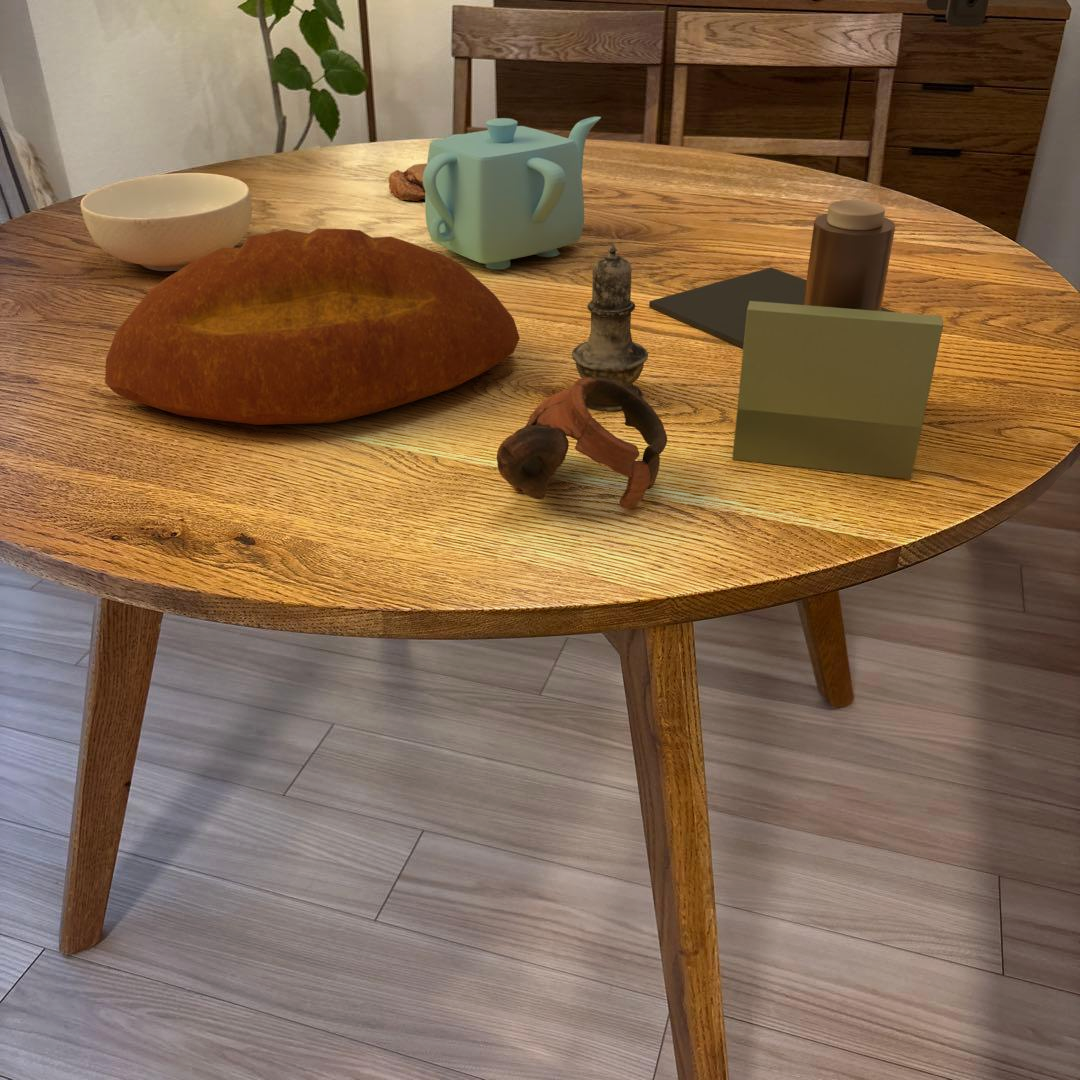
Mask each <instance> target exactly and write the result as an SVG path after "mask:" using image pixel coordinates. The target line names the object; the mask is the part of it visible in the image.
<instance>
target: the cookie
mask: <svg viewBox="0 0 1080 1080" xmlns="http://www.w3.org/2000/svg"><path fill="white" fill-rule="evenodd" d="M426 166H427V163H417V164H413V165H411V166H410V167H409V168H407V169H406V170H404V171H402V170H399V169H397V170H394V171H392V172H391V173H390V174H389V176H388V189H389V191H390V194H392V195H393V196H394V197H395V198H399V200H402V201H404V200H405V201H412V202H419V201H421V200H425V189H424V185H423V173H424V170H425V168H426Z"/></svg>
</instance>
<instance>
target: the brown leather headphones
mask: <svg viewBox="0 0 1080 1080" xmlns="http://www.w3.org/2000/svg"><path fill="white" fill-rule="evenodd" d="M583 394H586V397H585V398H584V400H583ZM585 403H592V404H605V405H620V406H621V407H622V410H621V411H622V412H623V415H624V425H625V427H631V428H634V429H635V430H637V431H638V432H639V434H640V436H642V438H643V440H644V441H645V443H646V444H647V445H648V446H647V447H645V449H644V451H643V454H642V459H641V460H639V459H638V458H639V456H640V451H639V448H638V446H637V445H635V444H633V443H631V442H628V441H626V440H623V439H622V438H619V437H617V436H615V435H614V434H613V433H612V432H610V431H609V430H608V429H607V428H605V427H604V426H603V425H602V424H601V423H600V422H598V421H597V420H596V419H595V417H594V418H593V415H592V414H591V412H590V411H589V410H588V407H586V405H585ZM568 437H569V438H572V439H574V440H576V441H577V442H576V444H575V447H574V450H575V451H577V452H579V453H580V454H582V455H585V456H586V457H588V458H590V459H591V460H592V461H594V462H595V463H597V464H600V465H604V466H606V467H608V468H609V469H611V470H612V471H613V472H615V473H617V474H620V475H622V476H624V477H627V478H628V479H627V483H626V488H625V491H624V492H623V494H622V497H621V498H620V499H619V506H620V508H621V509H625V510H626V509H627V510H628V509H629V510H631V509H634V508H637V506H638V505H639V503H640V501H642V500H643V499H644V498H645V494H646V492H647V491H648V490H652V488H653V487H654V485H655V482H656V480H657V477H658V474H659V471H660V465H661V464H660V463H661V457H660V455H661V453H663V452H664V450H665V449H666V446H667V443H668V436H667V432H666V429H665V426H664V424H663V420H662V419H661V418H660V417H659V415H658V413H657V412H656V411H655V410H654V409H653V407H651V405H650V403H648V401H646V400H645V399H644V398H643V397H642V398H641V397H640V396H639V395H637V394H636V393H635V392H634V391H632V390H631V389H629V388H628V387H626V386H624V385H622V384H620V383H618V382H616V381H613V380H610V379H607V378H603V377H596V376H592V377H585V378H579V379H577V380H576V381H575V382H574V384H573V385H572V387H571V388H570V389H565V390H561V391H557V392H556V393H553V394H552V395H550V396H548V397H546V398H545V399H543V401H541V403H540V404H539V405H538V406H537V407H535V409H534V411H533V412H531V414H530V415H529V418H528V420H527V423H526V425H524V426H523V427H521V428H519V429H518V430H516V431H515V432H514V433H512V434H511V435H509V436H507V437H506V438H505V439H504V440H503V441H502V442H501V444H500V445H499V447H498V448H497V452H496V463H497V469H498V472H499V474H500V476H501V477H502V478H503V480H505V482H507V483H508V484H509V485H510V486H512V488H513V490H514V491H515V492H517V493H518V492H520V491H521V490H522V493H523V494H525V496H528V497H530V498H533V499H536V500H542V499H544V498H545V496H546V493H547V488H548V486H549V484H550V482H551V480H552V477H554V475H555V474H556V472H557V470H558V469H559V468H560V467H561V465H563V463H564V462H565V460H566V457H567V453H568V451H569V447H570V443H569V442H570V441H569V439H568ZM636 459H638V460H636Z"/></svg>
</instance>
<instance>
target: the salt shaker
mask: <svg viewBox="0 0 1080 1080" xmlns="http://www.w3.org/2000/svg"><path fill="white" fill-rule="evenodd" d="M607 251H608V252H609V253H608V254H606V256H603V257H601V258H599V259H597V260H596V261H595V263H594V264H593V267H592V281H591V283H592V285H591V287H592V288H591V289H592V290H591V291H592V293H591V300H590V301H589V302H587V304H586V309H587V310H588V311H589V312H590V332H589V337H588V339H587V341H584V342H582V343H579V344H577V345H576V346H575V347H574V348H573V350H572V351H571V358H572V360H573V361H574V362H575V367H576V370H577V372H578V373H577V374H578V375H579V377H580V379H582V378H585V377H592V376H596V377H603V378H607V379H610V380H613V381H616V382H618V383H620V384H622V385H624V386H626V387H628V388H629V389H631V390H632V391H634V392H635V393H636V394H637V395H639V396H640V397H641V398H643V392H642V390H641V389H640V388H639V387H638V386H636V385H634V383H635V382H636V381H637V380H638V379H639V378H640V376H641V374H642V371H644V365H645V362H646V361H648V358H649V352H648V350H647V349H646V348H645V347H644V346H643V345H641V344H639V343H638V342H635V341H633V338H632V332H631V329H632V327H631V326H632V312H633V311H635V310H636V304H635V302H634V301H632V300H631V299H632V297H631V295H632V294H631V293H632V270H633V269H632V265H631V263H630V262H629V261H628V259H626V258H624V257H622V256H619V255H618V254H616V252H618V249H617V247H616V245H615V244H611V245H610V246H609V248H608V249H607ZM585 397H586V394H583V400H584V398H585ZM585 405H586V407H587V408H589V409H592V410H598V411H607V412H615V411H623V410H622V407H621V406H620V405H605V404H592V403H585Z"/></svg>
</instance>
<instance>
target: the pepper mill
mask: <svg viewBox="0 0 1080 1080" xmlns="http://www.w3.org/2000/svg"><path fill="white" fill-rule="evenodd" d="M885 214H886V208H885V206H883V205H882V204H880V203H877V202H874V201H868V200H860V199H843V200H837V201H833V202H831V203H829V204H828V208H827V213H824V214H823V213H822V214H820V215H818V216H816V217H815V219H814V220H813V227H812V235H811V244H810V249H809V250H810V251H809V252H810V253H809V257H808V266H807V272H806V273H807V274H806V280H807V281H806V288H805V296H804V304H803V305H808V306H821V307H834V308H846V309H859V310H872V311H881V307H883V301H884V294H885V289H886V284H887V283H886V282H887V277H888V272H889V266H890V260H891V253H892V248H893V243H894V242H893V241H894V236H895V232H896V231H895V230H896V224H895V222H894V221H893V220H891V219H889V218H887V217H885Z"/></svg>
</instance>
